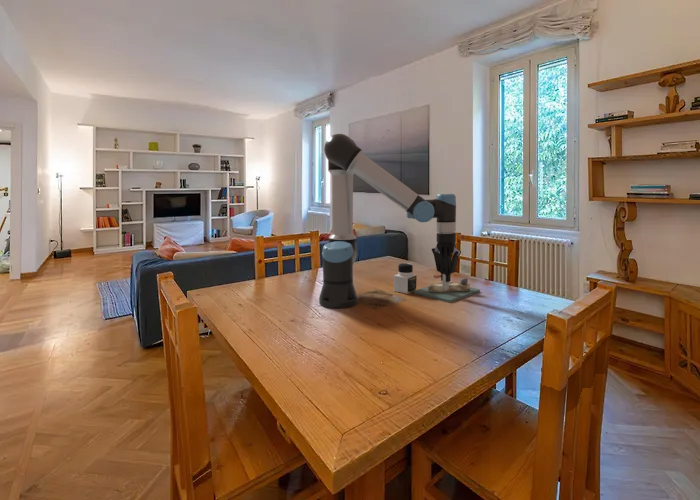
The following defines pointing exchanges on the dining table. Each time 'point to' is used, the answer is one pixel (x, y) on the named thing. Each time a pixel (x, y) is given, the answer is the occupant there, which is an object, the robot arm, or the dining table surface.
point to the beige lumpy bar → (451, 287)
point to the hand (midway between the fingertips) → (445, 289)
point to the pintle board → (447, 292)
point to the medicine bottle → (405, 279)
